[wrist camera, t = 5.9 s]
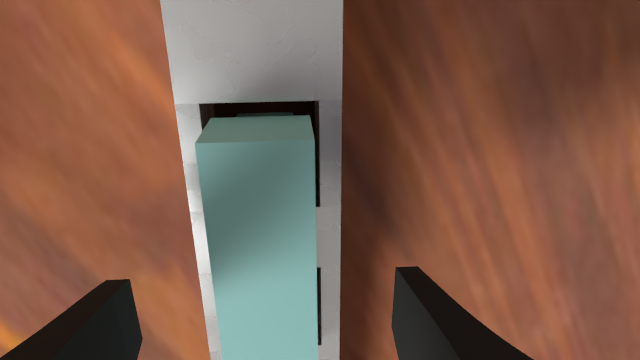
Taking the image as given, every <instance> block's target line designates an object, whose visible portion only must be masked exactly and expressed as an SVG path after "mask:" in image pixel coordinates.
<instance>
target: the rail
mask: <svg viewBox="0 0 640 360" xmlns="http://www.w3.org/2000/svg"><path fill="white" fill-rule="evenodd" d="M160 3H161V10H162V17H163V24H164V31H165V38H166V45H167V52H168V60H169V67H170V74H171V81H172V88H173V95H174V102H175V109H176V116H177V123H178V130H179V137H180V144H181V151H182V158H183V166H184V173H185V180H186V187H187V194H188V201H189V208H190V215H191V222H192V229H193V236H194V243H195V250H196V257H197V264H198V272H199V279H200V286H201V293H202V300H203V307H204V314H205V321H206V328H207V335H208V342H209V349H210V356H211V360H222V352H221V344H220V337H219V329H218V321H217V313H216V306H215V298H214V290H213V282H212V275H211V267H210V259H209V251H208V244H207V236H206V228H205V220H204V213H203V205H202V197H201V189H200V182H199V174H198V166H197V159H196V151H195V142H196V141H197V139H198V137H199V136H200V134H201V133H202V131H203V130H204V128H205V126H206V125H207V123H208V122H209V120H210V119H211V118H215V110H214V103H241V102H281V101H315V162H316V178H315V199H316V261H317V300H318V304H317V323H318V360H339V349H340V253H341V157H342V60H343V0H160Z"/></svg>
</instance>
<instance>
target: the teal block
mask: <svg viewBox="0 0 640 360" xmlns="http://www.w3.org/2000/svg"><path fill="white" fill-rule="evenodd" d="M195 151H196V159H197V166H198V174H199V182H200V189H201V197H202V205H203V213H204V220H205V228H206V236H207V244H208V251H209V259H210V267H211V275H212V282H213V290H214V298H215V306H216V313H217V321H218V329H219V337H220V344H221V352H222V360H318V323H317V261H316V199H315V140H314V134H313V129H312V124H311V119H310V115H300V116H293V112H272V113H238V114H237V116H236V117H228V118H211V119H210V120H209V122H208V123H207V125H206V126H205V128H204V130H203V131H202V133H201V134H200V136H199V137H198V139H197V141H196V142H195Z"/></svg>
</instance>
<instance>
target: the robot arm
mask: <svg viewBox="0 0 640 360" xmlns="http://www.w3.org/2000/svg"><path fill="white" fill-rule="evenodd" d="M392 330H393V335H394V340H395V344H396V349H397V353H398V358H399V360H533V359H532V358H530V357H529V356H527V355H526V354H524V353H523V352H521V351H519V350H518V349H516V348H515V347H513V346H512V345H510V344H509V343H508V342H506V341H505V340H503V339H502V338H501V337H499V336H498V335H496V334H495V333H494V332H493V331H491V330H490V329H489V328H487V327H486V326H485V325H483V324H482V323H481V322H480V321H478V320H477V319H476V318H475V317H473V316H472V315H471V314H470V313H469V312H467V311H466V310H465V309H464V308H463V307H461V306H460V305H459V304H458V303H457V302H456V301H455V300H453V299H452V298H451V297H450V296H449V295H448V294H447V293H446V292H445V291H444V290H442V289H441V288H440V287H439V286H438V285H437V284H436V283H435V282H434V281H433V280H432V279H431V278H430V277H428V276H427V275H426V274H425V273H424V272H423V271H422V270H421V269H420V268H419V267H418V266H416V267H396V271H395V285H394V300H393V314H392ZM141 343H142V334H141V330H140V325H139V320H138V316H137V311H136V306H135V302H134V297H133V293H132V288H131V283H130V279H124V280H106V281H105V282H103V283H102V284H100V285H99V286H97V287H96V288H95V289H93V290H92V291H91V292H89V293H88V294H87V295H85V296H84V297H83V298H81V299H80V300H79V301H77V302H76V303H75V304H74V305H72V306H71V307H70V308H68V309H67V310H66V311H64V312H63V313H62V314H60V315H59V316H58V317H56V318H55V319H54V320H52V321H51V322H50V323H48V324H47V325H46V326H45V327H43V328H42V329H41V330H39V331H38V332H36V333H35V334H34V335H32V336H31V337H29V338H28V339H26V340H25V341H24V342H22V343H21V344H19V345H18V346H16V347H15V348H14V349H12V350H11V351H9V352H8V353H7V354H5V355H4V356H2V357H1V358H0V360H137V358H138V354H139V350H140V347H141Z"/></svg>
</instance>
